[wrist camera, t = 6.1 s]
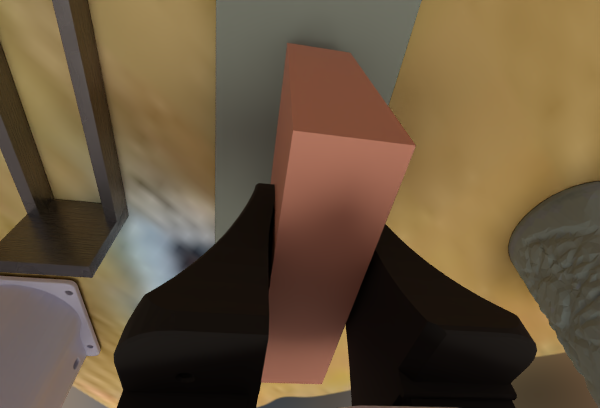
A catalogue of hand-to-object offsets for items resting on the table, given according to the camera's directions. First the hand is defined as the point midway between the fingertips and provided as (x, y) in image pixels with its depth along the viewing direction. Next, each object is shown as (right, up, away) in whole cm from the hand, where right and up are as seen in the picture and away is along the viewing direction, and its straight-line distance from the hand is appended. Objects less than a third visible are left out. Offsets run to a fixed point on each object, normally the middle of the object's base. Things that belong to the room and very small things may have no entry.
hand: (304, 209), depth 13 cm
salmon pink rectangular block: (0, +2, +3) cm, 4 cm away
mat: (0, +4, +5) cm, 7 cm away
